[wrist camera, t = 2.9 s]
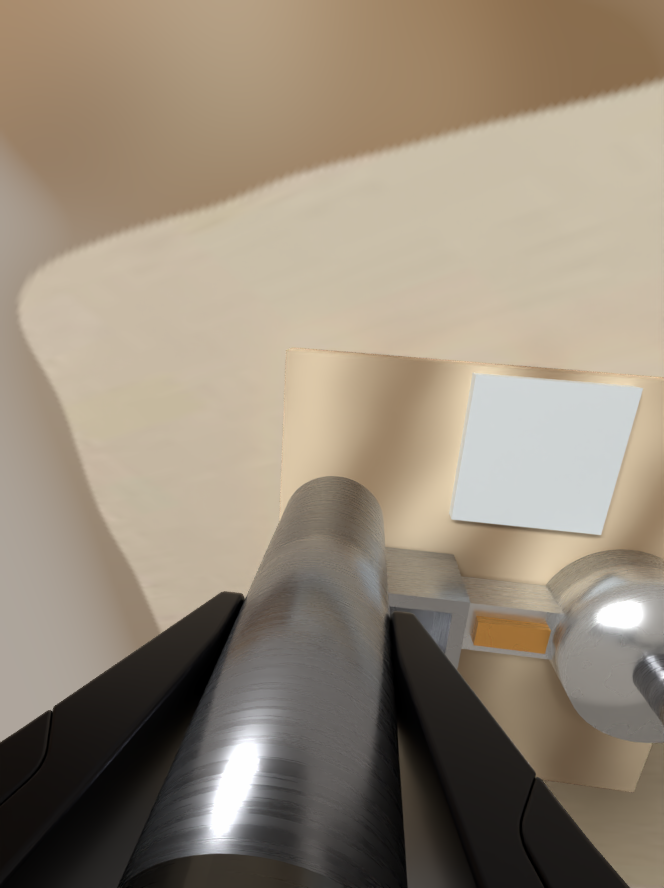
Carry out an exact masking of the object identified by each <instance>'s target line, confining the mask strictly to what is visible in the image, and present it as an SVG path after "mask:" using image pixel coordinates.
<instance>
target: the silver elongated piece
mask: <svg viewBox="0 0 664 888" xmlns="http://www.w3.org/2000/svg"><path fill="white" fill-rule="evenodd" d="M385 549H386V564H387V579H388V594H389V610H390V617H391V614H392V612H394V611H399V612H408V613H413V614H414V615H415V616H416V617H417V618H418V620H419V621H420V622H421V623H422V625H423V626H424V627H425V629H426V630H427V631H428V633H429V634H430V635H431V636H432V638H433V639H434V640H435V642H436V643H437V644H438V646H439V647H440V648H441V650H442V651H443V652H444V653H445V655H446V656H447V657H448V659H449V660H450V661H451V663H452V664H453V665H454V666H455V668H456V669H457V668H458V663H459V658H460V653H461V649H468V650H476V651H484V652H492V653H501V654H509V655H517V656H525V657H533V658H541V659H549V660H550V662H551V664H552V666H553V668H554V670H555V672H556V674H557V676H558V678H559V680H560V682H561V684H562V686H563V688H564V689H565V691H566V693H567V695H568V697H569V699H570V701H571V703H572V705H573V707H574V708H575V710H576V711H577V712H578V714H579V715H580V716H581V717H582V718H583V719H584V720H585V721H586V722H587V723H589V724H590V725H591V726H593V727H594V728H596V729H597V730H599V731H601V732H603V733H605V734H607V735H610V736H612V737H615V738H619V739H622V740H627V741H632V742H641V743H662V742H664V559H662V558H660V557H657V556H655V555H653V554H649V553H646V552H642V551H636V550H626V549H618V550H607V551H601V552H597V553H594V554H590V555H587V556H585V557H582V558H580V559H578V560H576V561H574V562H572V563H570V564H569V565H567V566H566V567H564V568H563V569H561V570H560V571H559V572H558V573H557V574H556V575H554V576H553V577H552V579H551V580H550V581H549V582H548V583H547V584H546V585H537V584H528V583H519V582H510V581H501V580H492V579H484V578H475V577H466V576H461V574H460V571H459V568H458V565H457V562H456V559H455V557H454V554H446V553H437V552H427V551H418V550H409V549H400V548H391V547H385Z"/></svg>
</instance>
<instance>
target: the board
mask: <svg viewBox="0 0 664 888" xmlns="http://www.w3.org/2000/svg"><path fill="white" fill-rule="evenodd" d="M472 373H483V374H495V375H507V376H519V377H532V378H544V379H556V380H568V381H580V382H593V383H605V384H617V385H629V386H636V387H640V388H643V391H642V394H641V398H640V401H639V405H638V408H637V411H636V415H635V418H634V422H633V425H632V429H631V432H630V436H629V439H628V443H627V446H626V450H625V453H624V457H623V460H622V464H621V467H620V471H619V474H618V478H617V481H616V485H615V488H614V492H613V495H612V498H611V502H610V505H609V509H608V512H607V516H606V519H605V523H604V526H603V530H602V533H601V535H596V534H586V533H577V532H567V531H558V530H548V529H538V528H529V527H519V526H509V525H500V524H490V523H481V522H471V521H461V520H452V519H451V517H450V515H449V511H450V505H451V499H452V493H453V487H454V481H455V475H456V469H457V463H458V457H459V451H460V445H461V439H462V433H463V427H464V421H465V415H466V409H467V403H468V397H469V391H470V385H471V379H472ZM325 476H338V477H344V478H348V479H351V480H353V481H356V482H358V483H359V484H361V485H363V486H364V487H365V488H367V489H368V490H369V491H370V492H371V493H372V494H373V495H374V497H375V498H376V499H377V501H378V503H379V505H380V507H381V510H382V513H383V520H384V533H385V547H391V548H400V549H409V550H418V551H427V552H437V553H446V554H454V557H455V559H456V562H457V565H458V568H459V571H460V574H461V576H466V577H475V578H484V579H492V580H501V581H510V582H519V583H528V584H537V585H546V584H547V583H548V582H549V581H550V580H551V579H552V577H553V576H554V575H556V574H557V573H558V572H559V571H560V570H561V569H563V568H564V567H566V566H567V565H569V564H570V563H572V562H574V561H576V560H578V559H580V558H582V557H585V556H587V555H590V554H594V553H597V552H601V551H607V550H618V549H626V550H636V551H642V552H646V553H649V554H653V555H655V556H657V557H660V558H662V559H664V378H663V377H651V376H639V375H626V374H614V373H601V372H589V371H576V370H564V369H551V368H539V367H527V366H514V365H502V364H489V363H477V362H464V361H452V360H440V359H427V358H415V357H402V356H390V355H377V354H365V353H352V352H340V351H328V350H315V349H303V348H290V349H288V350H286V364H285V389H284V415H283V440H282V466H281V492H280V517H279V521H280V519H281V517H282V515H283V512H284V510H285V508H286V506H287V503H288V501H289V499H290V498H291V496H292V495H293V494H294V492H295V491H296V490H297V489H298V488H299V487H301V486H302V485H303V484H305V483H307V482H309V481H311V480H313V479H316V478H320V477H325ZM457 670H458V672H459V673H460V674H461V676H462V677H463V678H464V679H465V681H466V682H467V683H468V685H469V686H470V687H471V689H472V690H473V691H474V693H475V694H476V695H477V696H478V698H479V699H480V700H481V702H482V703H483V704H484V706H485V707H486V708H487V709H488V711H489V712H490V713H491V715H492V716H493V717H494V719H495V720H496V721H497V722H498V724H499V725H500V726H501V728H502V729H503V730H504V732H505V733H506V734H507V736H508V737H509V738H510V739H511V741H512V742H513V743H514V745H515V746H516V747H517V749H518V750H519V751H520V752H521V754H522V755H523V756H524V758H525V759H526V760H527V762H528V763H529V764H530V765H531V767H532V768H533V769H534V771H535V772H536V777H539V778H541V779H542V780H549V781H556V782H563V783H570V784H577V785H584V786H591V787H598V788H605V789H613V790H620V791H627V792H634V790H635V788H636V785H637V783H638V780H639V777H640V775H641V772H642V770H643V767H644V765H645V762H646V759H647V757H648V754H649V752H650V749H651V747H652V744H653V743H641V742H632V741H627V740H622V739H619V738H615V737H612V736H610V735H607V734H605V733H603V732H601V731H599V730H597V729H596V728H594V727H593V726H591V725H590V724H589V723H587V722H586V721H585V720H584V719H583V718H582V717H581V716H580V715H579V714H578V712H577V711H576V710H575V708H574V707H573V705H572V703H571V701H570V699H569V697H568V695H567V693H566V691H565V689H564V688H563V686H562V684H561V682H560V680H559V678H558V676H557V674H556V672H555V670H554V668H553V666H552V664H551V662H550V660H549V659H541V658H533V657H525V656H517V655H509V654H501V653H492V652H484V651H476V650H468V649H461V653H460V658H459V663H458V668H457ZM536 777H535V778H536Z"/></svg>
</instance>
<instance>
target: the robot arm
mask: <svg viewBox="0 0 664 888" xmlns="http://www.w3.org/2000/svg"><path fill="white" fill-rule="evenodd" d="M244 600H245V599H244V596H243V594H241V593H235V592H227V591H224V592H221V593H219V594H218V595H216V596H215V597H213V598H212V599H211V600H209V601H208V602H206V603H205V604H203V605H202V606H200V607H199V608H197V609H196V610H194V611H193V612H192V613H190V614H189V615H187V616H186V617H184V618H183V619H181V620H180V621H178V622H177V623H175V624H174V625H172V626H171V627H170V628H168V629H167V630H165V631H164V632H162V633H161V634H159V635H158V636H156V637H155V638H153V639H152V640H151V641H150V642H148V643H146V644H145V645H143V646H142V647H141V648H139V649H138V650H136V651H134V652H133V653H131V654H130V655H129V656H127V657H126V658H124V659H123V660H121V661H120V662H118V663H117V664H115V665H114V666H112V667H111V668H110V669H108V670H107V671H105V672H104V673H102V674H101V675H99V676H98V677H96V678H95V679H93V680H92V681H90V682H89V683H88V684H86V685H85V686H83V687H82V688H80V689H79V690H77V691H76V692H74V693H73V694H72V695H70V696H69V697H67V698H66V699H64V700H63V701H61V702H60V703H58V704H57V705H55V706H54V708H53V712H52V711H51V710H48V711H46V712H45V713H43V714H42V715H40V716H39V717H38V718H36V719H35V720H33V721H32V722H30V723H29V724H27V725H26V726H24V727H23V728H21V729H20V730H18V731H17V732H16V733H14V734H12V735H11V736H9V737H8V738H6V739H5V740H3V741H2V742H0V888H117V887H118V884H119V882H120V880H121V878H122V875H123V873H124V871H125V869H126V866H127V864H128V862H129V860H130V857H131V855H132V853H133V851H134V848H135V846H136V844H137V842H138V839H139V837H140V835H141V833H142V830H143V828H144V826H145V824H146V821H147V819H148V817H149V814H150V812H151V810H152V808H153V805H154V803H155V801H156V799H157V796H158V794H159V792H160V790H161V787H162V785H163V783H164V781H165V778H166V776H167V774H168V772H169V769H170V767H171V765H172V763H173V760H174V758H175V756H176V754H177V751H178V749H179V747H180V745H181V742H182V740H183V738H184V736H185V733H186V731H187V729H188V727H189V724H190V722H191V720H192V718H193V715H194V713H195V711H196V709H197V706H198V704H199V702H200V700H201V697H202V695H203V693H204V691H205V688H206V686H207V684H208V682H209V679H210V677H211V675H212V672H213V670H214V668H215V666H216V663H217V661H218V659H219V657H220V654H221V652H222V650H223V648H224V645H225V643H226V641H227V639H228V636H229V634H230V632H231V630H232V627H233V625H234V623H235V621H236V618H237V616H238V614H239V612H240V609H241V607H242V605H243V603H244ZM390 627H391V642H392V658H393V673H394V687H395V701H396V716H397V731H398V747H399V762H400V777H401V792H402V808H403V823H404V838H405V853H406V869H407V884H408V888H630V887H629V886H628V885H627V884H626V883H625V881H624V880H623V879H622V878H621V877H620V876H619V874H618V873H617V872H616V871H615V870H614V869H613V867H612V866H611V865H610V864H609V863H608V862H607V860H606V859H605V858H604V857H603V856H602V855H601V853H600V852H599V851H598V850H597V849H596V848H595V847H594V845H593V844H592V843H591V842H590V840H589V839H588V838H587V837H586V835H585V834H584V833H583V832H582V830H581V829H580V828H579V827H578V825H577V824H576V823H575V822H574V820H573V819H572V818H571V817H570V815H569V814H568V813H567V812H566V810H565V809H564V808H563V807H562V805H561V804H560V803H559V802H558V800H557V799H556V798H555V796H554V795H553V794H552V792H551V791H550V790H549V789H548V787H547V786H546V785H545V783H544V782H543V781H542V779H541V778H539V777H536V772H535V771H534V769H533V768H532V767H531V765H530V764H529V763H528V762H527V760H526V759H525V758H524V756H523V755H522V754H521V752H520V751H519V750H518V749H517V747H516V746H515V745H514V743H513V742H512V741H511V739H510V738H509V737H508V736H507V734H506V733H505V732H504V730H503V729H502V728H501V726H500V725H499V724H498V722H497V721H496V720H495V719H494V717H493V716H492V715H491V713H490V712H489V711H488V709H487V708H486V707H485V706H484V704H483V703H482V702H481V700H480V699H479V698H478V696H477V695H476V694H475V693H474V691H473V690H472V689H471V687H470V686H469V685H468V683H467V682H466V681H465V679H464V678H463V677H462V676H461V674H460V673H459V672H458V670H457V669H456V668H455V666H454V665H453V664H452V663H451V661H450V660H449V659H448V657H447V656H446V655H445V653H444V652H443V651H442V650H441V648H440V647H439V646H438V644H437V643H436V642H435V640H434V639H433V638H432V636H431V635H430V634H429V633H428V631H427V630H426V629H425V627H424V626H423V625H422V623H421V622H420V621H419V620H418V618H417V617H416V616H415V615H414V614H413V613H408V612H399V611H394V612H392V614H391V617H390ZM535 777H536V778H535Z"/></svg>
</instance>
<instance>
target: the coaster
mask: <svg viewBox="0 0 664 888" xmlns="http://www.w3.org/2000/svg"><path fill="white" fill-rule="evenodd" d="M642 391H643V388H640V387H636V386H629V385H617V384H605V383H593V382H580V381H568V380H556V379H544V378H532V377H519V376H507V375H495V374H483V373H472V379H471V385H470V391H469V397H468V403H467V409H466V415H465V421H464V427H463V433H462V439H461V445H460V451H459V457H458V463H457V469H456V475H455V481H454V487H453V493H452V499H451V505H450V511H449V515H450V517H451V519H452V520H461V521H471V522H481V523H490V524H500V525H509V526H519V527H529V528H538V529H548V530H558V531H567V532H577V533H586V534H596V535H601V533H602V530H603V526H604V523H605V519H606V516H607V512H608V509H609V505H610V502H611V498H612V495H613V492H614V488H615V485H616V481H617V478H618V474H619V471H620V467H621V464H622V460H623V457H624V453H625V450H626V446H627V443H628V439H629V436H630V432H631V429H632V425H633V422H634V418H635V415H636V411H637V408H638V405H639V401H640V398H641V394H642Z"/></svg>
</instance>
